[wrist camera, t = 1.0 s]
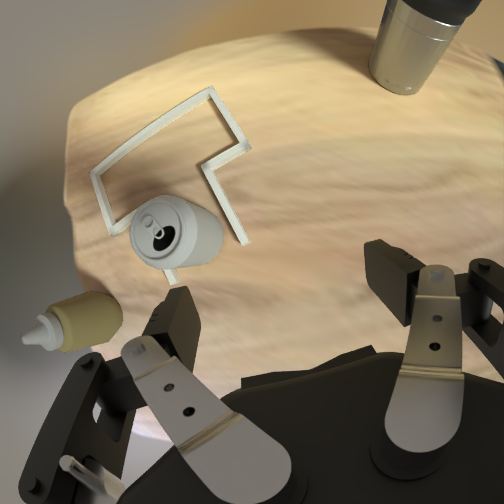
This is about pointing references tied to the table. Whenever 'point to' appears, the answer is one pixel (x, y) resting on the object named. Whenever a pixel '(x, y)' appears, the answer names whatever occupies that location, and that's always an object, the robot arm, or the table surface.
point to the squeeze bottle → (76, 323)
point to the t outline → (206, 167)
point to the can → (175, 233)
